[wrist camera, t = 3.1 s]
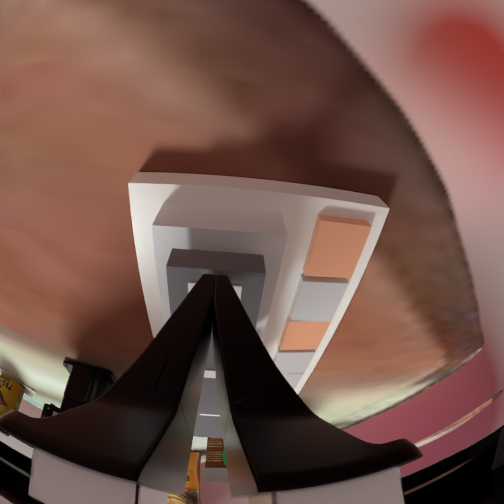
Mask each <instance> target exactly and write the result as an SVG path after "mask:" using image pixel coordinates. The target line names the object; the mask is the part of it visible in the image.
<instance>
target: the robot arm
mask: <svg viewBox="0 0 504 504" xmlns="http://www.w3.org/2000/svg"><path fill="white" fill-rule="evenodd" d="M211 335H212V340H213V352H214V363H215V374H216V384H217V393H218V403H219V411H220V420H221V428H222V436H223V443H224V451H225V458H226V465H227V471H228V478H229V484H230V490H231V497H232V498H249V504H504V425H502V426H501V427H500V428H498V429H496V430H495V431H493V432H492V433H490V434H489V435H487V436H485V437H484V438H482V439H480V440H479V441H477V442H475V443H473V444H472V445H470V446H468V447H466V448H464V449H463V450H461V451H459V452H457V453H455V454H453V455H451V456H449V457H447V458H445V459H443V460H441V461H438V462H436V463H434V464H432V465H430V466H428V467H426V468H423V469H421V470H419V471H417V472H414V473H412V474H409V475H407V476H404V477H402V478H401V474H400V469H399V467H400V466H402V465H405V464H407V463H410V462H412V461H414V460H416V459H419V458H421V457H422V456H423V454H422V452H421V451H420V450H419V448H418V447H417V446H415V445H414V444H413V443H411V442H410V441H408V440H407V439H398V440H394V441H391V442H388V443H383V444H373V443H368V442H365V441H363V440H360V439H358V438H356V437H354V436H352V435H350V434H349V433H347V432H345V431H343V430H341V429H339V428H337V427H335V426H333V425H332V424H330V423H328V422H326V421H324V420H323V419H321V418H319V417H318V416H317V415H315V414H314V413H313V412H312V411H311V410H310V409H309V408H308V407H307V405H306V404H305V403H304V402H303V400H302V399H301V398H300V397H299V395H298V394H297V393H296V392H295V390H294V389H293V388H292V386H291V385H290V384H289V383H288V381H287V380H286V379H285V377H284V376H283V374H282V373H281V372H280V370H279V369H278V367H277V366H276V364H275V363H274V361H273V359H272V358H271V356H270V354H269V353H268V351H267V349H266V347H265V346H264V345H263V342H262V340H261V338H260V336H259V334H258V333H257V331H256V329H255V327H254V325H253V323H252V321H251V320H250V318H249V316H248V314H247V312H246V310H245V308H244V306H243V304H242V303H241V301H240V299H239V297H238V295H237V293H236V291H235V289H234V287H233V285H232V283H231V281H230V279H229V277H228V276H227V275H219V274H217V275H216V276H215V275H214V274H203V275H202V276H201V277H200V279H199V280H198V281H197V282H196V284H195V285H194V286H193V288H192V289H191V290H190V291H189V293H188V294H187V295H186V297H185V298H184V299H183V301H182V302H181V303H180V304H179V306H178V307H177V308H176V310H175V311H174V312H173V314H172V315H171V316H170V318H169V319H168V320H167V322H166V323H165V324H164V326H163V327H162V328H161V330H160V331H159V332H158V334H157V335H156V337H155V338H154V339H153V340H152V341H151V343H150V344H149V345H148V347H147V348H146V349H145V350H144V352H143V353H142V354H141V355H140V357H139V358H138V359H137V360H136V361H135V362H134V363H133V364H132V365H131V366H130V367H129V368H128V369H127V370H126V372H125V373H124V374H123V375H122V376H121V377H120V378H119V379H118V380H117V381H116V380H115V378H114V376H113V375H112V373H111V372H110V371H107V370H103V369H98V368H94V367H89V366H85V365H81V364H77V363H73V362H70V361H66V360H64V362H63V365H64V366H65V368H66V369H67V370H68V372H69V373H70V376H69V379H68V382H67V385H66V388H65V391H64V397H63V400H62V404H61V407H60V408H58V407H56V406H55V405H53V404H52V403H51V404H50V405H49V404H44V408H43V411H42V415H41V418H32V417H29V416H27V415H25V414H23V413H21V412H19V411H16V410H11V411H9V412H7V413H5V414H3V415H2V416H1V417H0V428H1V429H2V430H4V431H5V432H7V433H8V434H10V435H11V436H13V437H15V438H16V439H18V440H20V441H21V442H23V443H25V444H27V445H28V446H30V447H32V448H34V450H33V455H32V459H31V458H29V457H27V456H25V455H23V454H22V453H20V452H18V451H16V450H15V449H13V448H11V447H10V446H8V445H6V444H5V443H3V442H1V441H0V504H167V502H168V493H174V494H182V495H184V491H185V484H186V478H187V471H188V465H189V459H190V453H191V446H192V440H193V434H194V428H195V423H196V417H197V411H198V405H199V400H200V394H201V389H202V383H203V378H204V373H205V367H206V362H207V357H208V351H209V346H210V341H211Z"/></svg>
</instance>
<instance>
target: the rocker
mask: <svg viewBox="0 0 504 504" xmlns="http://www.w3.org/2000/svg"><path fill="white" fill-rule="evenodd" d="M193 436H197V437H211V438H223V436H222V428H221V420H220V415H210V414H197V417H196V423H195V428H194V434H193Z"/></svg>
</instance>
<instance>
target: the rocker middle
mask: <svg viewBox="0 0 504 504" xmlns="http://www.w3.org/2000/svg"><path fill="white" fill-rule="evenodd" d="M197 414H210V415H220V411H219V403H218V393H217V384H216V374H215V365H213V364H206V367H205V373H204V378H203V383H202V389H201V394H200V400H199V405H198V411H197Z"/></svg>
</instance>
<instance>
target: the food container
mask: <svg viewBox="0 0 504 504" xmlns="http://www.w3.org/2000/svg"><path fill="white" fill-rule="evenodd" d="M202 470H203V477H204V482H220V483H229V478H228V471H227V465H226V458H225V451H224V443H223V438H211V437H208V441H207V452H206V464H205V468H202Z"/></svg>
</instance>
